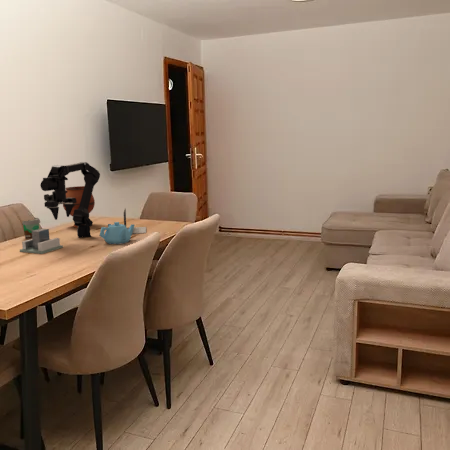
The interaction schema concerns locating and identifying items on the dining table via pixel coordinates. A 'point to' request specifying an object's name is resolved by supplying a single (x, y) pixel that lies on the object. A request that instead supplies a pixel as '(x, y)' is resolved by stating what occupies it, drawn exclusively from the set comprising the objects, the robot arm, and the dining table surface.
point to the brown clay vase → (78, 198)
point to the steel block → (39, 237)
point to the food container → (30, 227)
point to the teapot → (116, 233)
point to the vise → (45, 246)
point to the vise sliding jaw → (27, 244)
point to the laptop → (136, 229)
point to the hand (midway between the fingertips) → (62, 218)
